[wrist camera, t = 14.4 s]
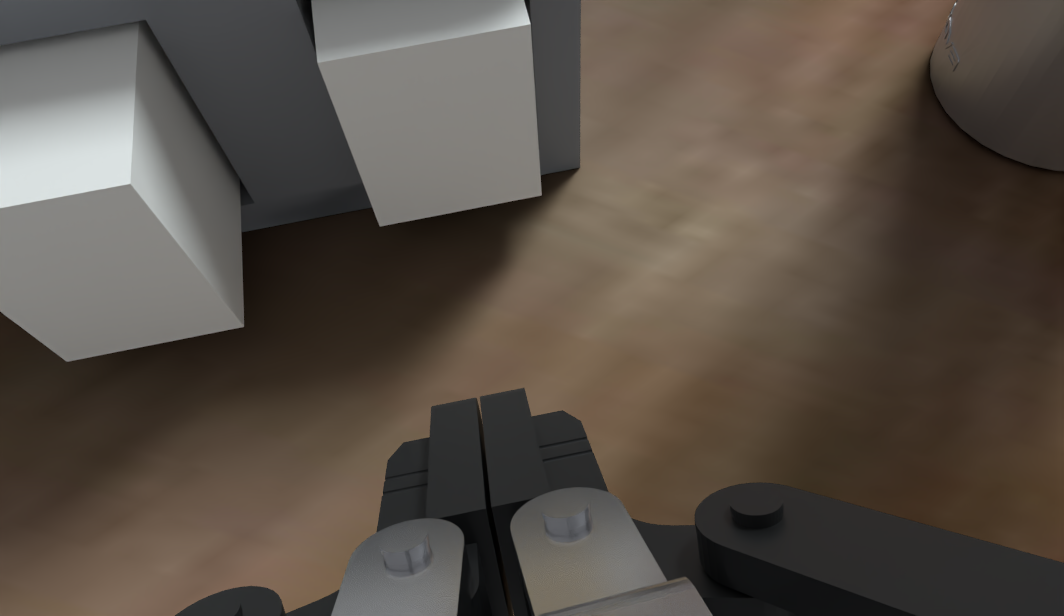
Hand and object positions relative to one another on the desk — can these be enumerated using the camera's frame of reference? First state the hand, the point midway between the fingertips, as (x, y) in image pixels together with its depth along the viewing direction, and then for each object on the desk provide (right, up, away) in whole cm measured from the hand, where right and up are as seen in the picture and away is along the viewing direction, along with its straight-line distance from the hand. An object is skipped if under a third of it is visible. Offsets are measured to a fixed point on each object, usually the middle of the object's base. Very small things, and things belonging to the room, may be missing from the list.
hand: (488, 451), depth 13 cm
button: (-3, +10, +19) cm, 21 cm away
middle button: (-13, +5, +17) cm, 22 cm away
